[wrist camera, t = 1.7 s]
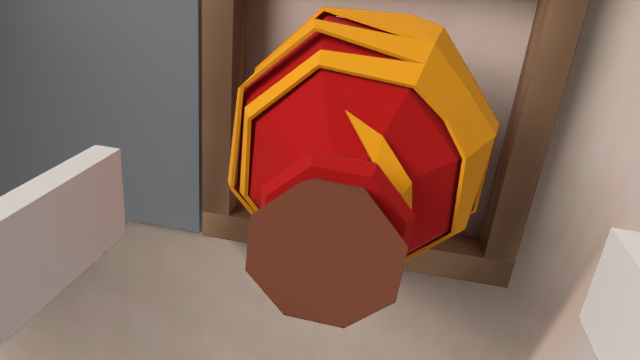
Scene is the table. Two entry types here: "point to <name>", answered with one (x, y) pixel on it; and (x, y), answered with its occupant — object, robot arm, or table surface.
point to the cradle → (513, 168)
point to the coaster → (107, 97)
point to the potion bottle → (356, 159)
